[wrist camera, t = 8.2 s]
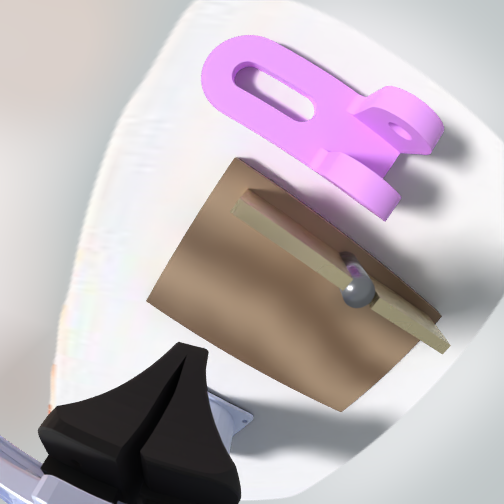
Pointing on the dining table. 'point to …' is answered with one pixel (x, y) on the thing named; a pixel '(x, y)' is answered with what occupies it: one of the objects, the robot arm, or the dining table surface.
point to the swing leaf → (407, 316)
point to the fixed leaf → (307, 248)
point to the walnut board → (280, 298)
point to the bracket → (325, 119)
